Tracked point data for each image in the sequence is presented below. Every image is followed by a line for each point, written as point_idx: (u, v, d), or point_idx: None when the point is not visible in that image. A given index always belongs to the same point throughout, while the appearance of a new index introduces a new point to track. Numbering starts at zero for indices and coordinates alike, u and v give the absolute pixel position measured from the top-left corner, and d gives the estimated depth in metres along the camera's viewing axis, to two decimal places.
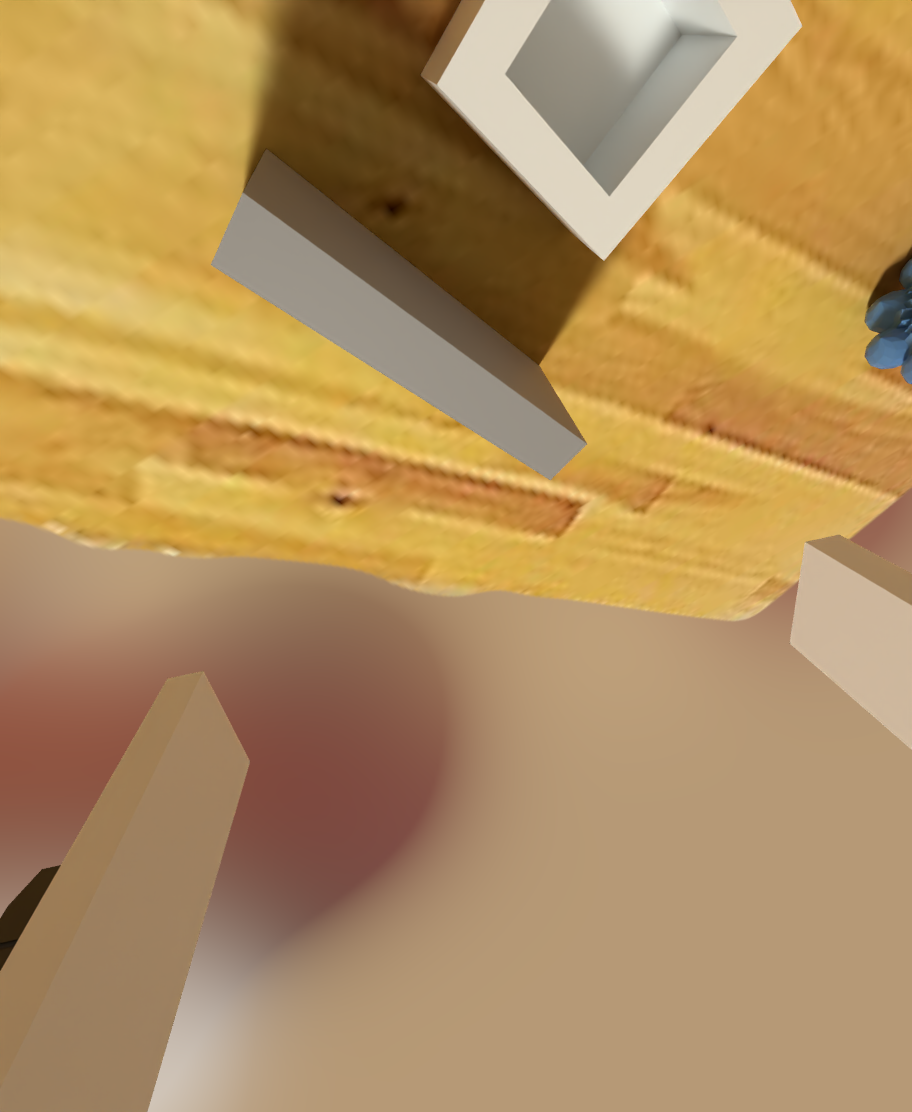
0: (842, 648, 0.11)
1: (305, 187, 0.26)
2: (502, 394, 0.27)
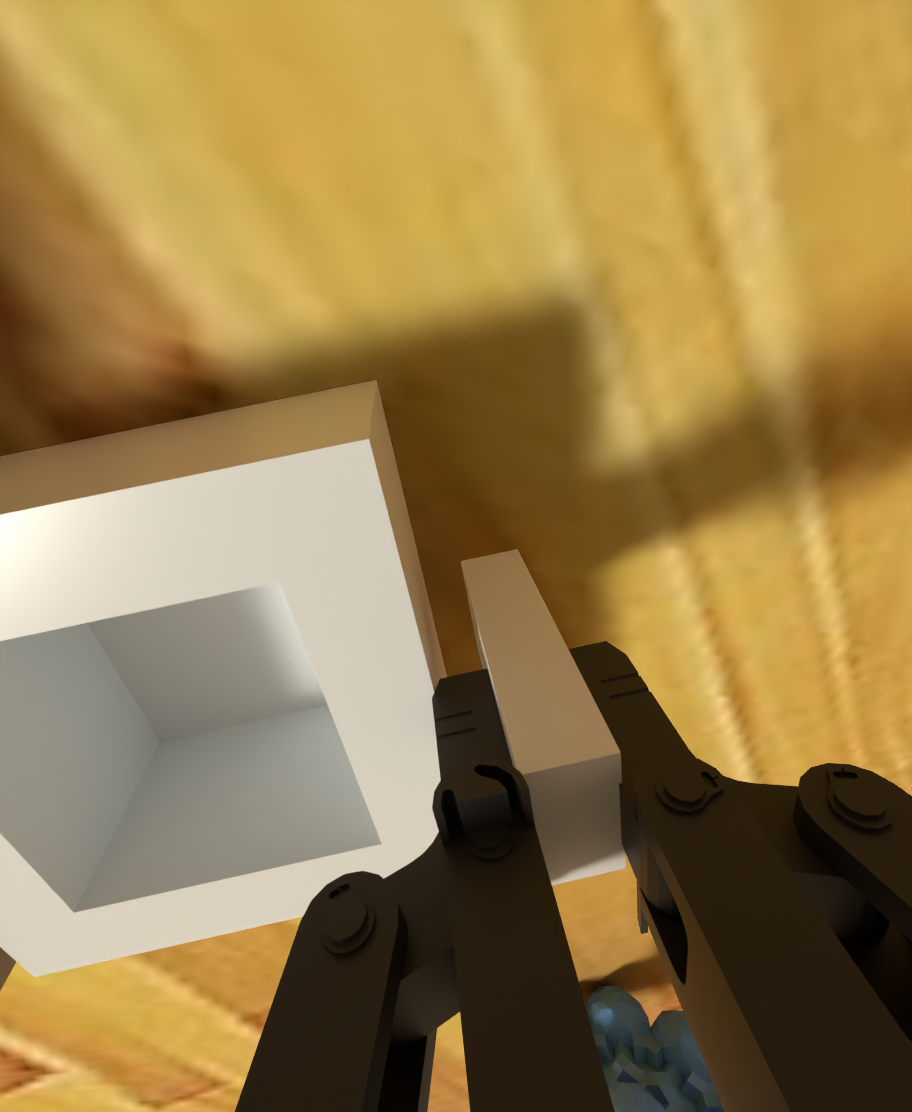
0: None
1: None
2: None
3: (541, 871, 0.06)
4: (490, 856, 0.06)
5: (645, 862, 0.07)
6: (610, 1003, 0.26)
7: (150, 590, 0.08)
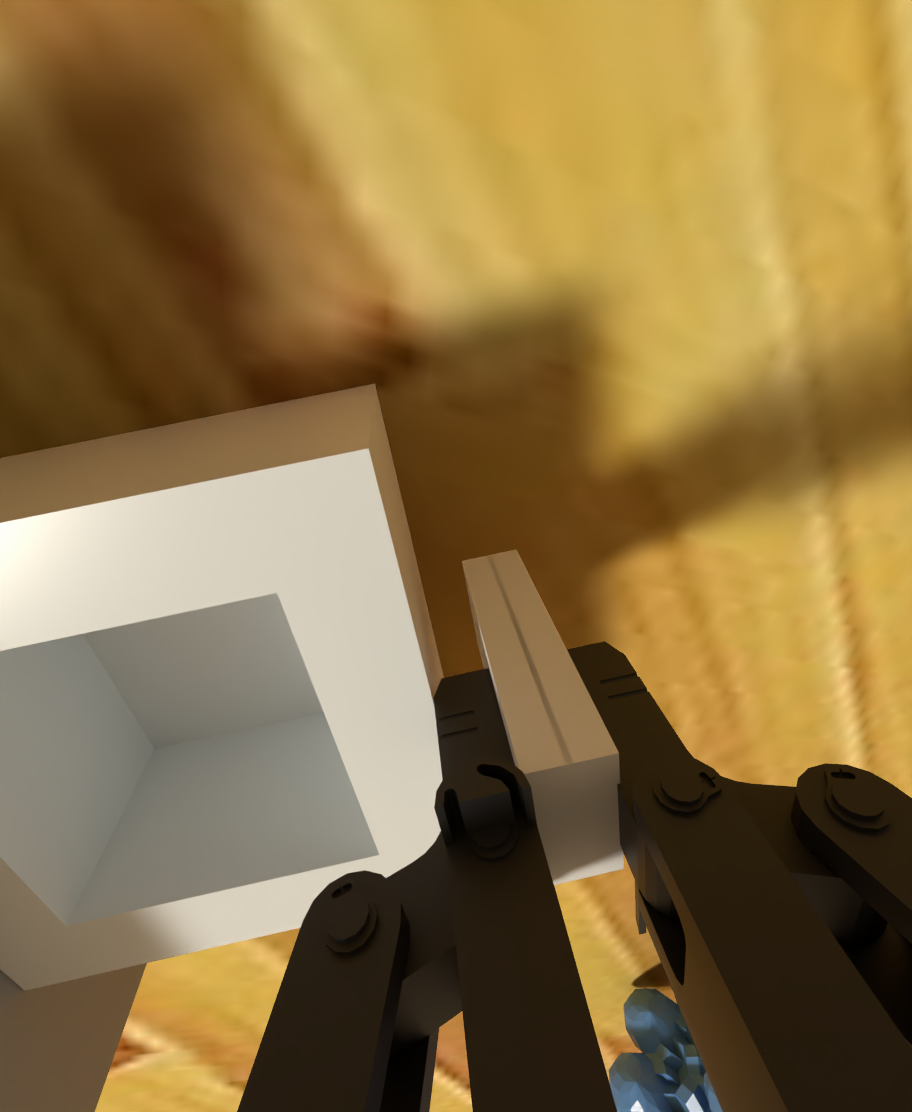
0: None
1: None
2: None
3: (543, 871, 0.06)
4: (491, 856, 0.06)
5: (643, 862, 0.07)
6: None
7: (144, 601, 0.08)
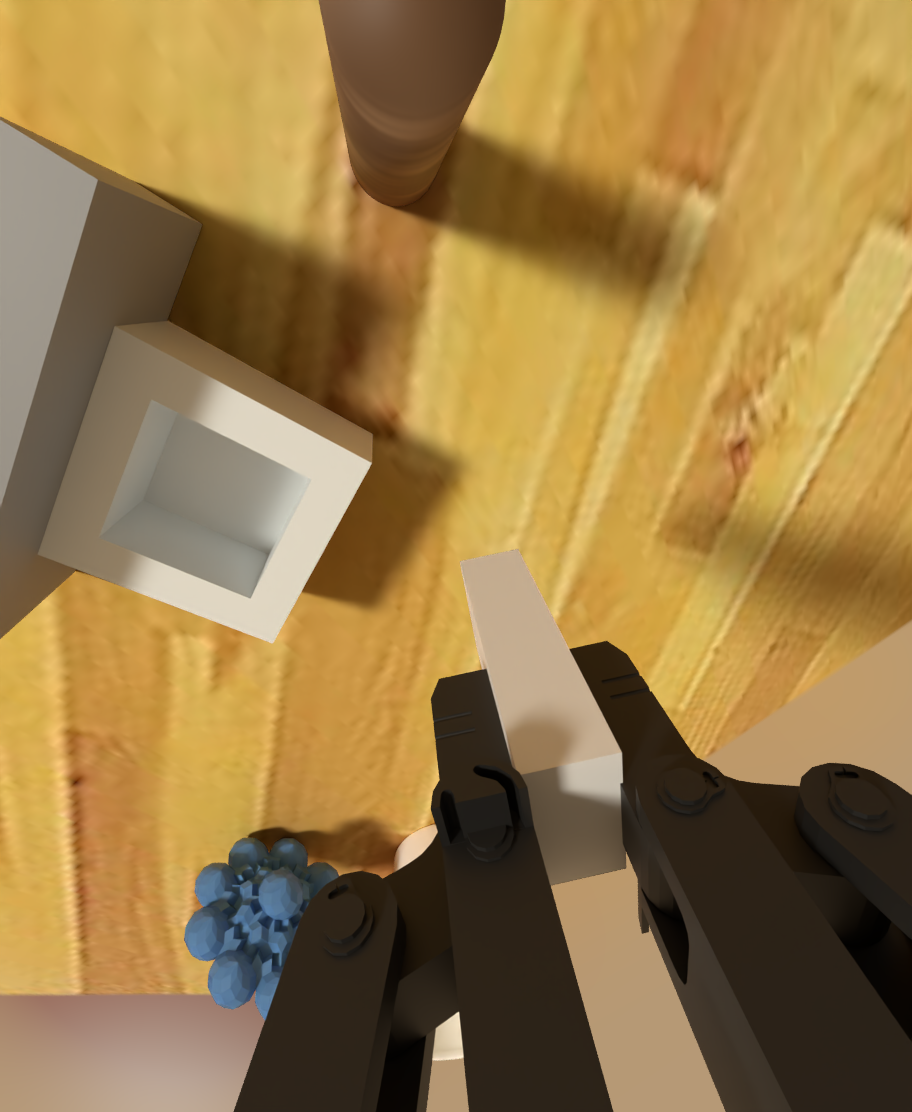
0: None
1: (172, 269, 0.23)
2: None
3: (540, 871, 0.06)
4: (489, 856, 0.06)
5: (646, 862, 0.07)
6: (294, 843, 0.40)
7: (272, 451, 0.23)
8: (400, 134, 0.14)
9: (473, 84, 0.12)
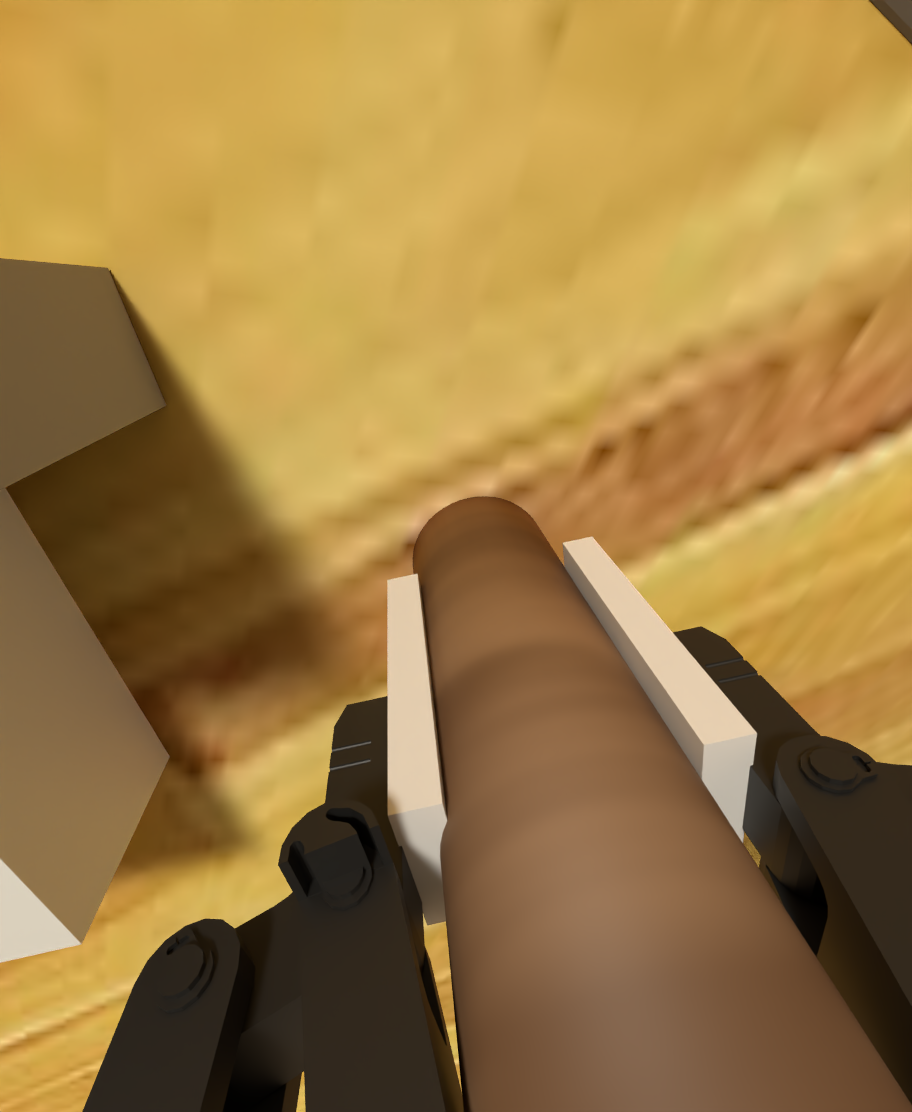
0: None
1: None
2: None
3: (397, 910, 0.06)
4: (346, 904, 0.06)
5: (785, 844, 0.07)
6: None
7: None
8: None
9: None
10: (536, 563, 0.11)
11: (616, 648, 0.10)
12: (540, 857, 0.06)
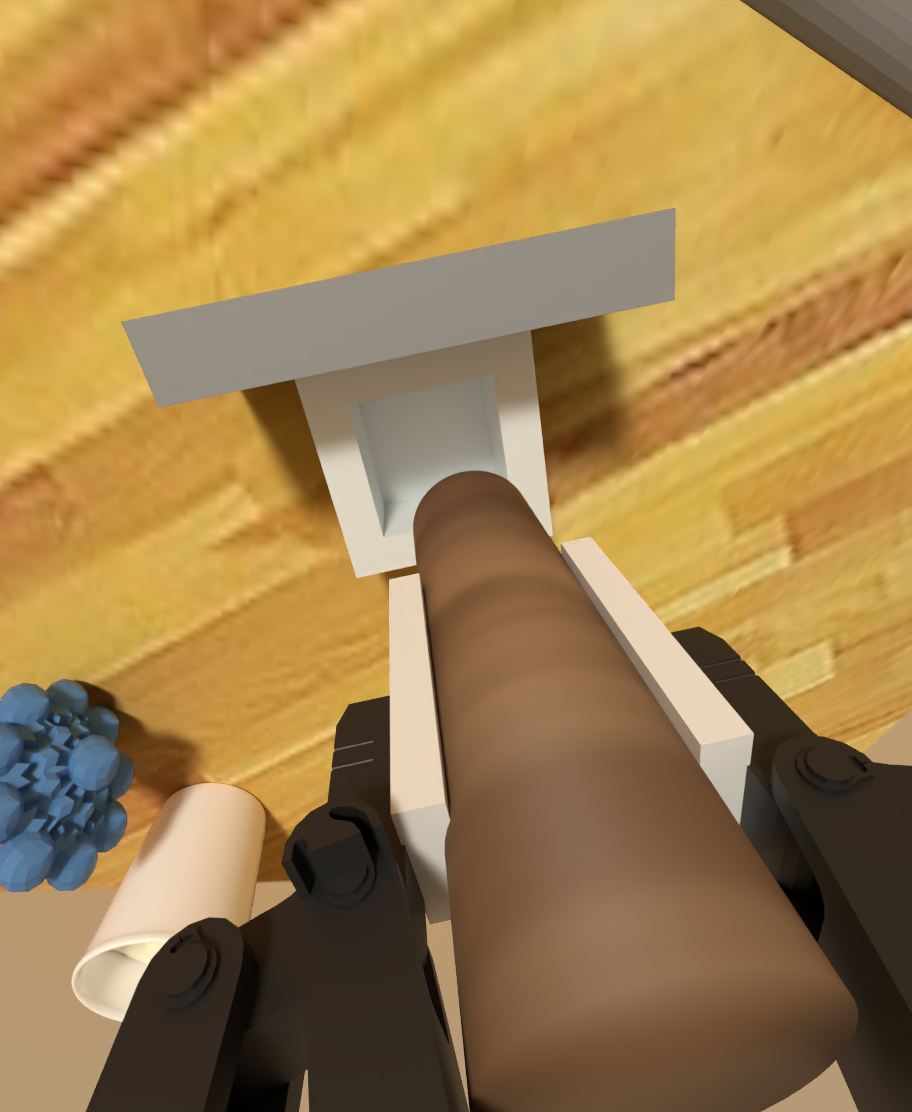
0: None
1: None
2: (318, 359, 0.20)
3: (400, 909, 0.06)
4: (348, 902, 0.06)
5: (782, 844, 0.07)
6: (118, 720, 0.36)
7: (513, 473, 0.27)
8: None
9: None
10: (517, 520, 0.13)
11: (581, 585, 0.12)
12: (504, 705, 0.08)
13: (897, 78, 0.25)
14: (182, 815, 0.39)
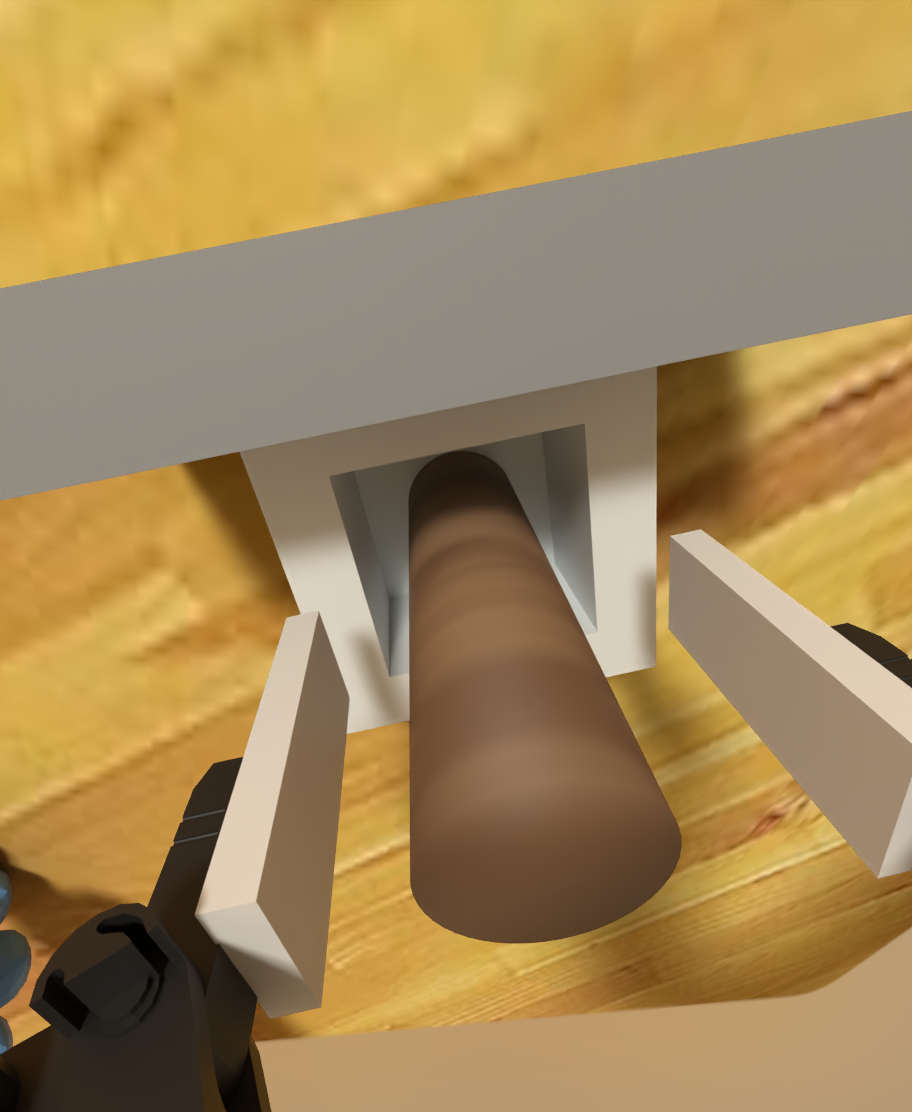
0: (698, 631, 0.12)
1: None
2: (257, 417, 0.09)
3: (186, 1017, 0.06)
4: (125, 1026, 0.06)
5: None
6: (8, 888, 0.26)
7: (604, 579, 0.16)
8: None
9: (522, 940, 0.09)
10: (493, 494, 0.16)
11: (541, 549, 0.14)
12: (458, 630, 0.10)
13: None
14: None
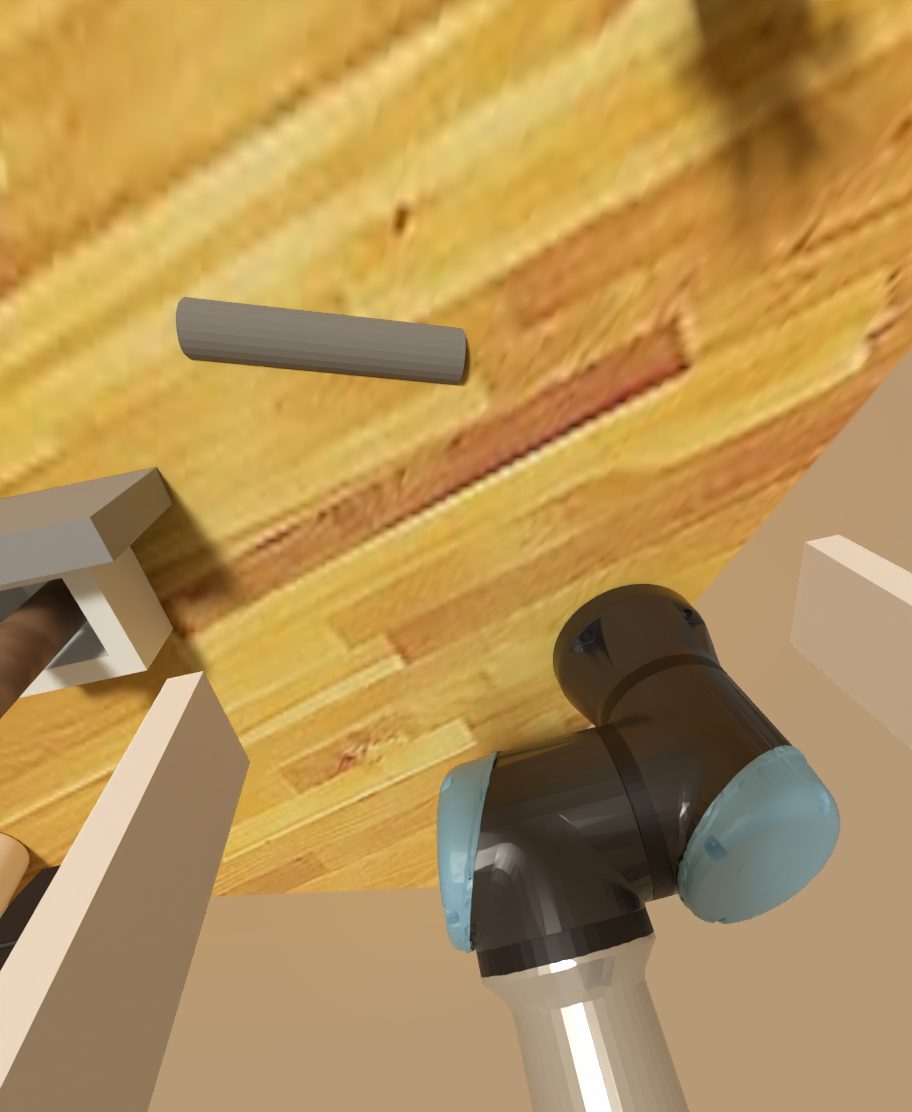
0: (841, 648, 0.11)
1: None
2: None
3: None
4: None
5: None
6: None
7: (101, 634, 0.39)
8: None
9: None
10: (46, 599, 0.38)
11: (47, 624, 0.37)
12: None
13: (352, 368, 0.38)
14: None
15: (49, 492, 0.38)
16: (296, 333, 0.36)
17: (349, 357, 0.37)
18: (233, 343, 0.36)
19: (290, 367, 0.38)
